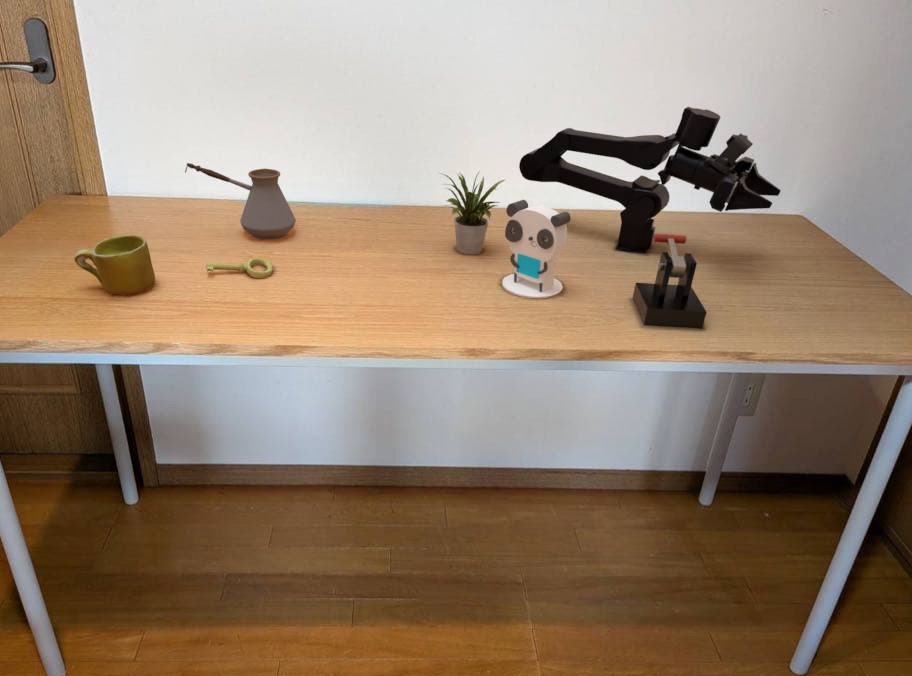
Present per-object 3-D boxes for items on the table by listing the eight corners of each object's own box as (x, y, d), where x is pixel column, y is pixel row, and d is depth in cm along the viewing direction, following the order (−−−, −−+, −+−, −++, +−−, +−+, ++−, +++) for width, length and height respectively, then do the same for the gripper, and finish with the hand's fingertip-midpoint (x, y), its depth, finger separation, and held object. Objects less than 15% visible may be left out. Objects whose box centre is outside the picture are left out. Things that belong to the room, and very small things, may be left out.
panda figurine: (487, 283, 141) (494, 205, 133) (523, 268, 148) (531, 193, 140) (538, 303, 134) (549, 223, 126) (574, 286, 141) (586, 209, 133)
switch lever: (652, 241, 134) (655, 230, 133) (682, 242, 134) (686, 231, 133) (660, 276, 128) (663, 265, 126) (692, 278, 128) (696, 267, 126)
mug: (170, 264, 138) (145, 220, 130) (157, 302, 132) (130, 258, 124) (108, 272, 140) (80, 230, 132) (93, 310, 133) (63, 268, 126)
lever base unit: (632, 300, 137) (643, 243, 132) (686, 303, 137) (700, 247, 131) (643, 326, 128) (656, 267, 122) (701, 330, 128) (717, 271, 122)
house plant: (418, 254, 152) (420, 174, 143) (442, 233, 163) (446, 157, 154) (484, 267, 148) (491, 185, 139) (505, 244, 159) (512, 167, 150)
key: (203, 273, 140) (202, 262, 139) (265, 262, 146) (265, 252, 145) (215, 287, 135) (214, 276, 134) (279, 275, 141) (279, 265, 140)
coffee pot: (296, 224, 164) (292, 154, 156) (296, 243, 155) (292, 170, 147) (196, 226, 161) (186, 155, 153) (190, 245, 152) (180, 171, 144)
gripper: (703, 138, 135) (788, 169, 130) (726, 120, 148) (804, 147, 144) (678, 196, 142) (758, 227, 137) (702, 173, 155) (776, 201, 150)
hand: (775, 199), depth 142 cm, fingers open, 9 cm apart
